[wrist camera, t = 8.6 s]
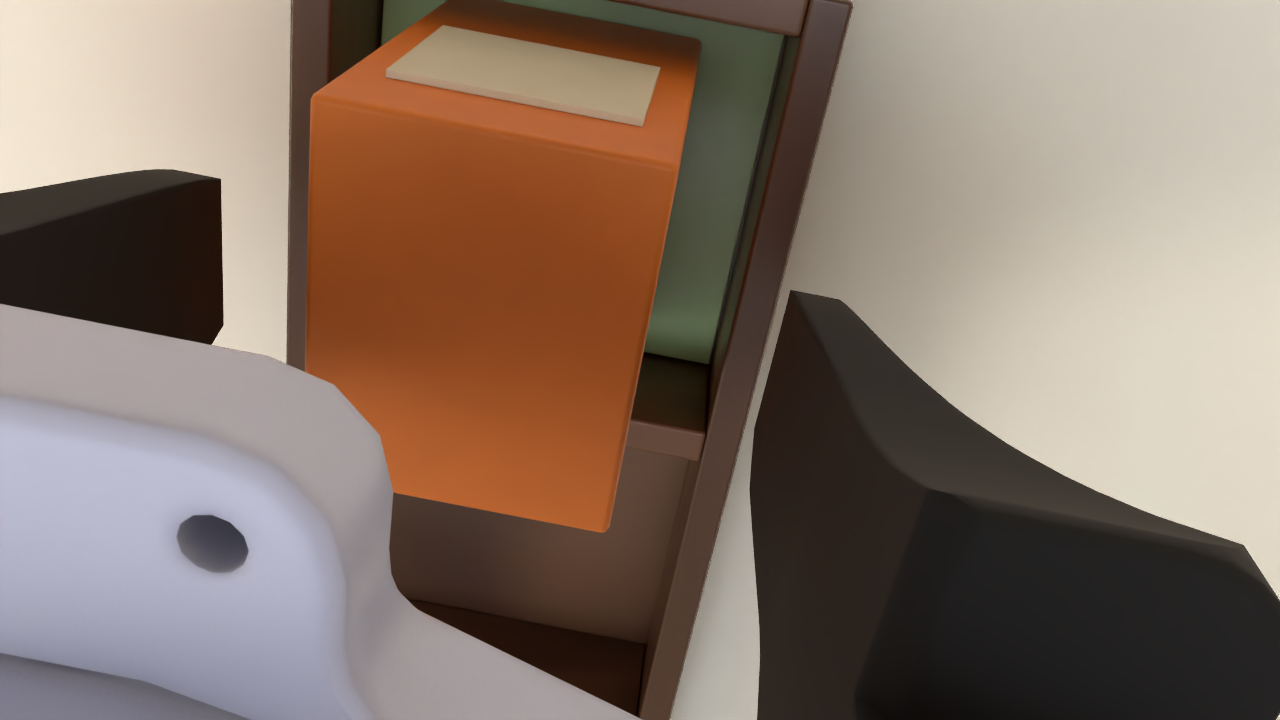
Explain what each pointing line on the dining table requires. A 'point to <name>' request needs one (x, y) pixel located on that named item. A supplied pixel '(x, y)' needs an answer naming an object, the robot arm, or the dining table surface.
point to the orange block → (496, 248)
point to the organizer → (672, 360)
